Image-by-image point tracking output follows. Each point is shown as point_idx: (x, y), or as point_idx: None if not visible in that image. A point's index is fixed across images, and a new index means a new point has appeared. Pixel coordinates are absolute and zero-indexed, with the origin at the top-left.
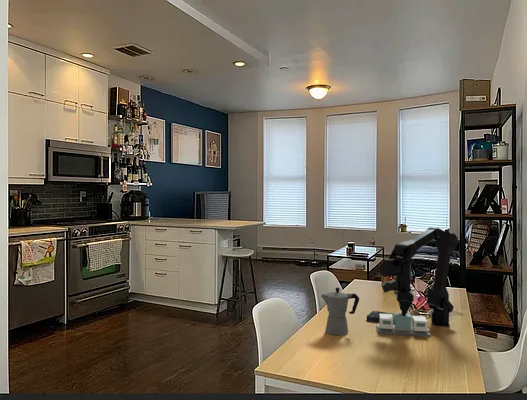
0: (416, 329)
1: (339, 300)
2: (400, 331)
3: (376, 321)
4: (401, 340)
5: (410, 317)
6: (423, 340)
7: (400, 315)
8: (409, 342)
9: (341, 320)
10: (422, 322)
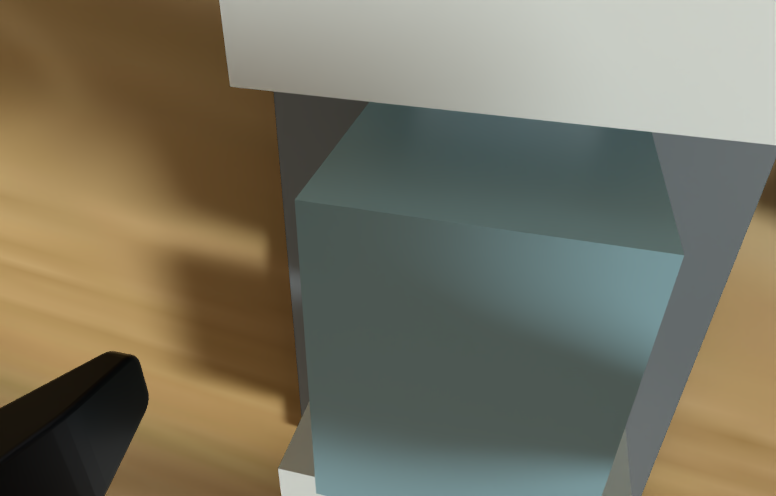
0: None
1: None
2: (334, 141)
3: None
4: (55, 77)
5: (317, 473)
6: (181, 336)
7: (387, 336)
8: (33, 167)
9: None
10: None
